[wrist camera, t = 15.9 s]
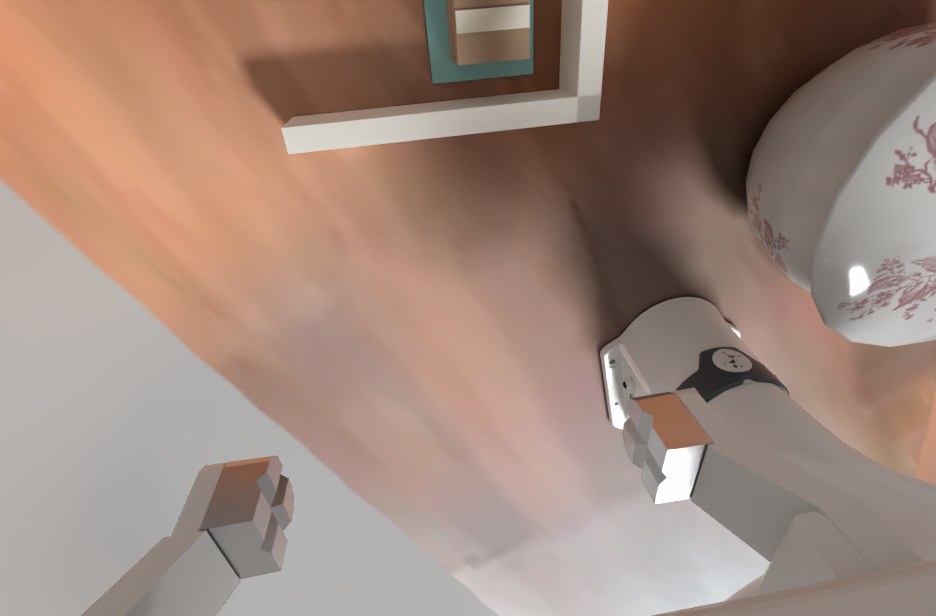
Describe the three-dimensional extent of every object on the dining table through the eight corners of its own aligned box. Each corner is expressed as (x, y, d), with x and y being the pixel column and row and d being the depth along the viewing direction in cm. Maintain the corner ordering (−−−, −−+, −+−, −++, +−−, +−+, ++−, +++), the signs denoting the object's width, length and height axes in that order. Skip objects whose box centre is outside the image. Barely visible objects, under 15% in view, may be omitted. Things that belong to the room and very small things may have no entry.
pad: (532, 73, 41) (533, 73, 40) (432, 83, 40) (432, 84, 40) (532, -55, 36) (533, -55, 36) (418, -46, 35) (419, -46, 35)
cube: (512, -24, 36) (530, -31, 32) (513, 54, 39) (530, 58, 35) (444, -19, 36) (452, -25, 31) (450, 60, 39) (458, 65, 34)
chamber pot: (668, 96, 43) (851, 147, 26) (966, -72, 39) (1416, -144, 22) (719, 306, 58) (858, 427, 41) (940, 199, 54) (1197, 283, 37)
